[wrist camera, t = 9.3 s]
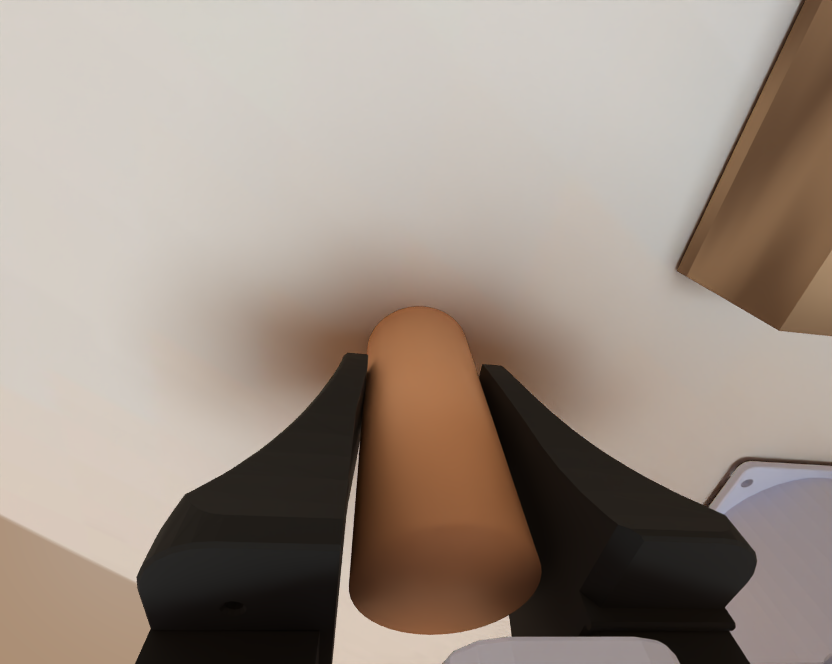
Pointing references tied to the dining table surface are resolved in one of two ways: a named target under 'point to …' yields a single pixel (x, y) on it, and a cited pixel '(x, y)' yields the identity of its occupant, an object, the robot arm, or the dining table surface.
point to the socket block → (778, 193)
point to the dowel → (434, 488)
